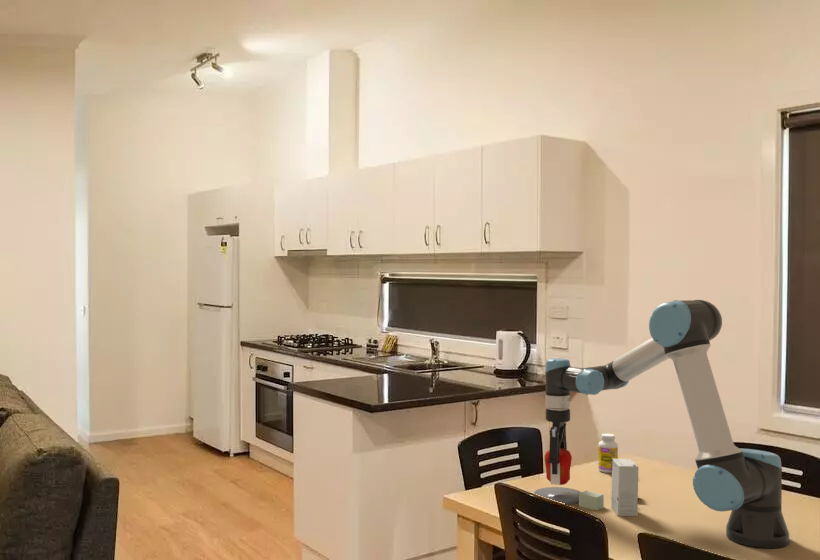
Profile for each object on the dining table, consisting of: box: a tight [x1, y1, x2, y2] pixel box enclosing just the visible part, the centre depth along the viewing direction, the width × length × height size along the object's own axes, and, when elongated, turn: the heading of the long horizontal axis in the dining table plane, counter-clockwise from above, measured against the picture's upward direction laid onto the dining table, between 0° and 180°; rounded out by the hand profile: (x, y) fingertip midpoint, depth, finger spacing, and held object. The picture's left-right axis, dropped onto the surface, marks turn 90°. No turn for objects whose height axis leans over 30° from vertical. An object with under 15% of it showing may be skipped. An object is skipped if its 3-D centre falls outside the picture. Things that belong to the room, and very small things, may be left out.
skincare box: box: [610, 458, 639, 517], centre depth 226 cm, size 8×6×15 cm
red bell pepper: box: [544, 448, 573, 486], centre depth 241 cm, size 9×8×12 cm
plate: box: [534, 486, 582, 505], centre depth 241 cm, size 15×15×1 cm
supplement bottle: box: [597, 433, 619, 474], centre depth 273 cm, size 7×7×13 cm
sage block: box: [578, 490, 605, 511], centre depth 232 cm, size 4×6×4 cm, turn 48°
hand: (558, 480), depth 241 cm, fingers closed on red bell pepper, 9 cm apart
